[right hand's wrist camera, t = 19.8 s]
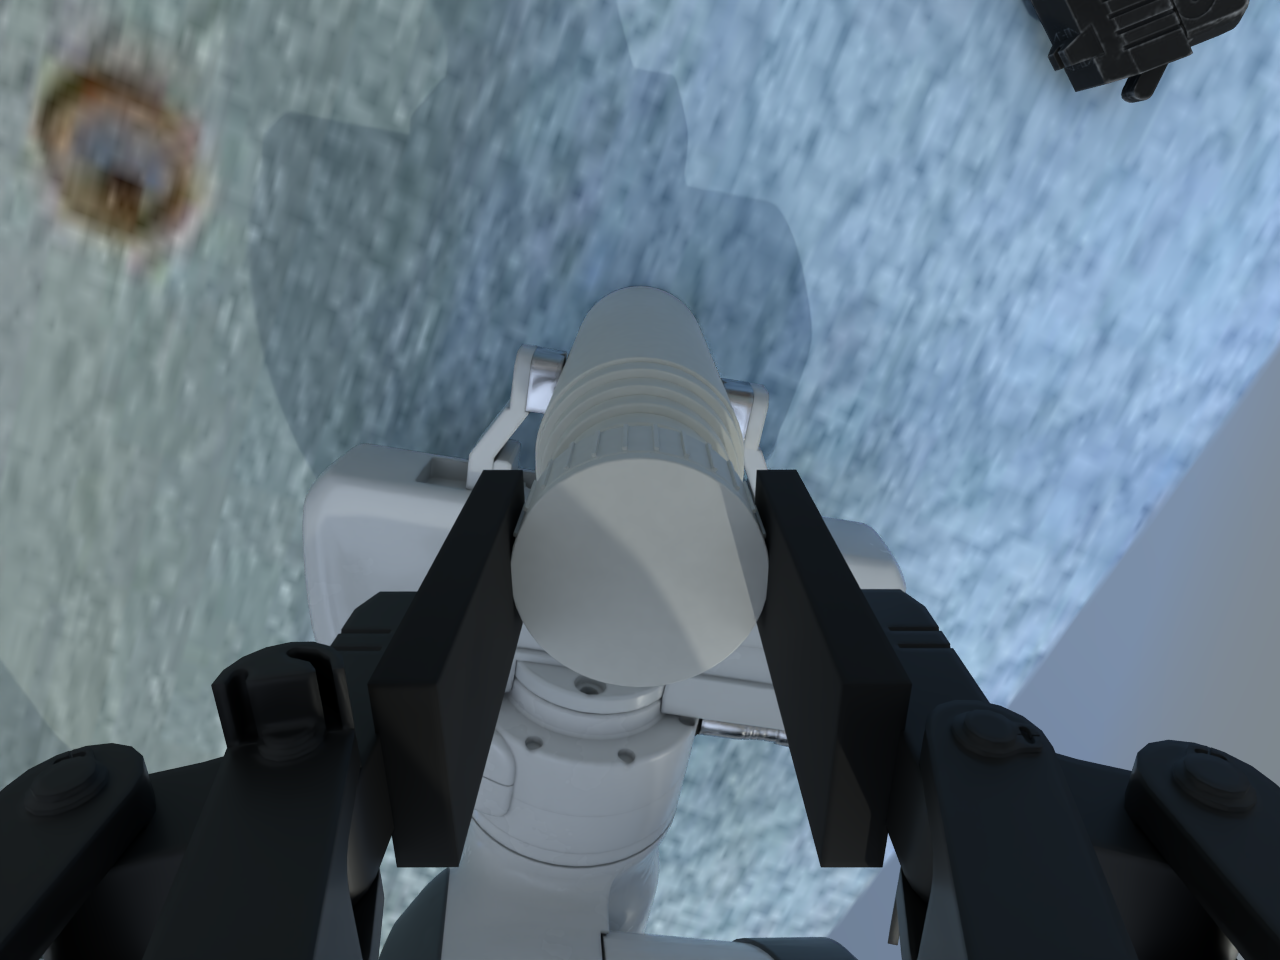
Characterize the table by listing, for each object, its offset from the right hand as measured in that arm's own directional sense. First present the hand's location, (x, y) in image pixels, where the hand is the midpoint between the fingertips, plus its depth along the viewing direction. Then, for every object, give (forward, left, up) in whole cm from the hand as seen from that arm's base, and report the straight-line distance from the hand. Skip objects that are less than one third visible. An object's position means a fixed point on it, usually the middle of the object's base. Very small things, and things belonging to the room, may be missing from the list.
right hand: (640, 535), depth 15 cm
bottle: (0, 0, -17) cm, 17 cm away
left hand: (-1, 0, -10) cm, 10 cm away
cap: (0, 0, +2) cm, 2 cm away
